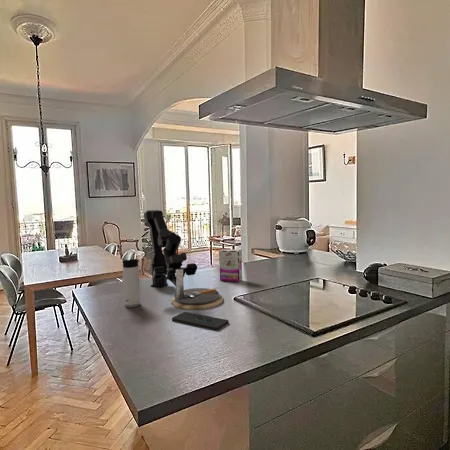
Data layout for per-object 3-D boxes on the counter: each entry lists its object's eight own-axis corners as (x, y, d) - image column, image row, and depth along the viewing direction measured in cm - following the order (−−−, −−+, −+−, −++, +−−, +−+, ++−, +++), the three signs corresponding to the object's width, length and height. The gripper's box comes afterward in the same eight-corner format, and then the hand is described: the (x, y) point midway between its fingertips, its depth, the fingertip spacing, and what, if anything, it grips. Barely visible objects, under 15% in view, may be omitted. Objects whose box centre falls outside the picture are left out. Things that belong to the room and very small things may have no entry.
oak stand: (160, 305, 145) (160, 302, 145) (188, 291, 165) (188, 288, 165) (207, 312, 136) (207, 309, 135) (231, 296, 156) (231, 293, 155)
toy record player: (204, 289, 164) (203, 260, 162) (228, 298, 148) (228, 266, 147) (166, 297, 152) (165, 266, 151) (188, 308, 137) (187, 274, 136)
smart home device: (217, 327, 117) (170, 317, 127) (217, 332, 117) (170, 322, 128) (229, 319, 124) (184, 311, 135) (229, 324, 124) (184, 315, 135)
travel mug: (126, 308, 142) (124, 260, 141) (123, 304, 148) (121, 257, 146) (142, 306, 145) (139, 258, 143) (138, 301, 151) (136, 256, 149)
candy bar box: (242, 280, 184) (242, 249, 183) (239, 282, 180) (238, 251, 178) (223, 278, 189) (222, 248, 187) (219, 280, 184) (218, 250, 182)
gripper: (153, 248, 146) (160, 280, 137) (195, 245, 154) (204, 274, 145) (149, 263, 154) (156, 294, 145) (190, 259, 162) (199, 288, 153)
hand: (179, 288), depth 147 cm, fingers closed
